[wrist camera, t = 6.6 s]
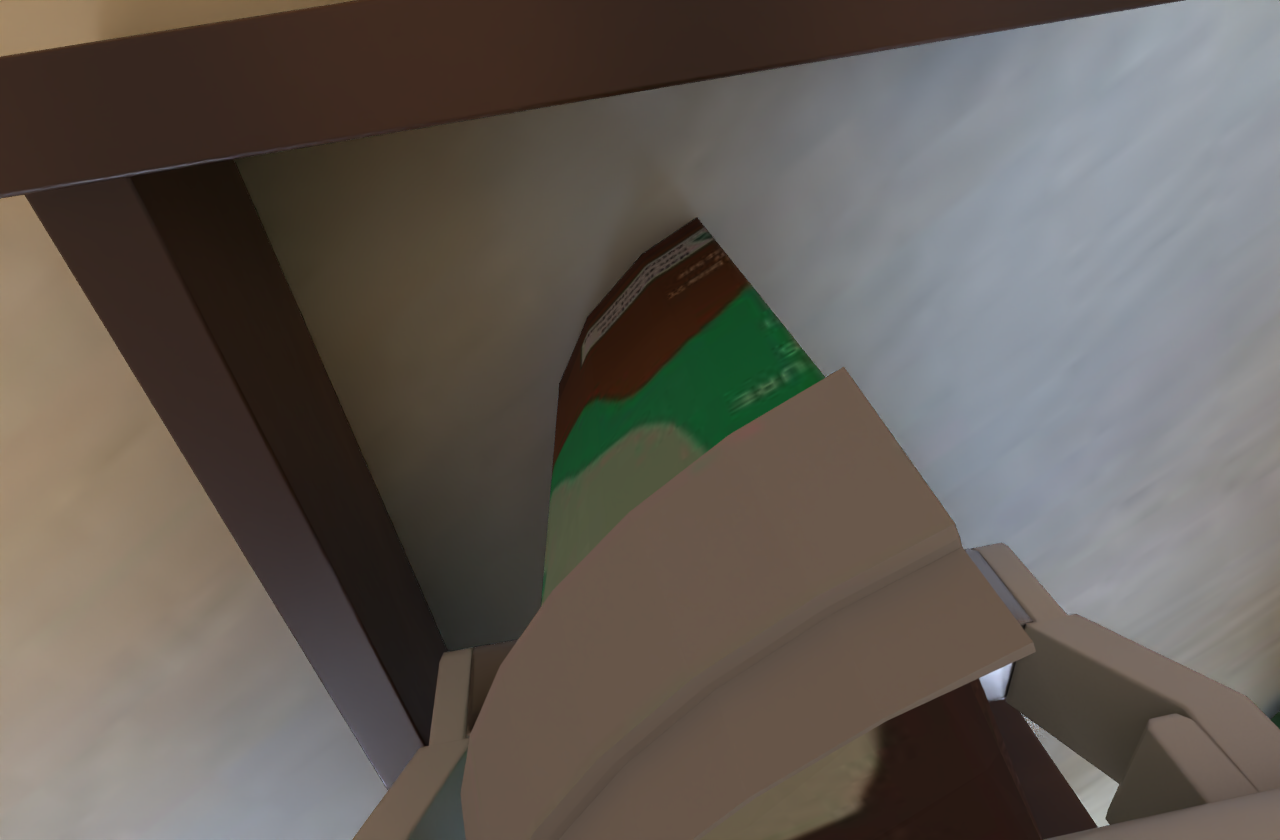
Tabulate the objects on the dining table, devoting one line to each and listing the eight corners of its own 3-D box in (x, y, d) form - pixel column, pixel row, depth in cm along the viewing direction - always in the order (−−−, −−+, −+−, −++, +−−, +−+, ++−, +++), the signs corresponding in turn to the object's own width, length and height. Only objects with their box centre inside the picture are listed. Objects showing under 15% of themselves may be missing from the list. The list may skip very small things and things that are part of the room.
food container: (353, 316, 12) (-1, 1025, 4) (659, 138, 11) (1018, 580, 3) (660, 676, 19) (767, 1230, 11) (871, 580, 18) (1169, 1104, 10)
